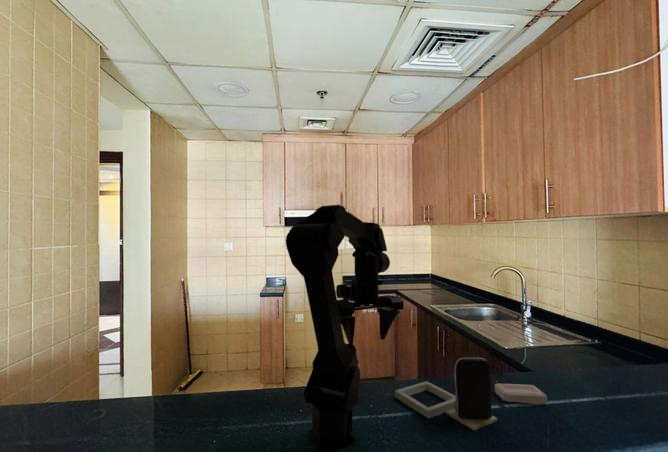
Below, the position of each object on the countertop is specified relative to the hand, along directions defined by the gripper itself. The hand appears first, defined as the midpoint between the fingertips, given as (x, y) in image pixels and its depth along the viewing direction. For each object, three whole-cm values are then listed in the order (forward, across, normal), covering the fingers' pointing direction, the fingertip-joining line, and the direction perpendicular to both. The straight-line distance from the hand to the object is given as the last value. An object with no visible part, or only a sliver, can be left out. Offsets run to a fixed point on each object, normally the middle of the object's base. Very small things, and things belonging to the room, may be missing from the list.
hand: (366, 342), depth 70 cm
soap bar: (+13, -30, +18) cm, 37 cm away
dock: (+12, -10, +9) cm, 18 cm away
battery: (+12, -13, +18) cm, 25 cm away
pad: (+12, -13, +18) cm, 25 cm away
